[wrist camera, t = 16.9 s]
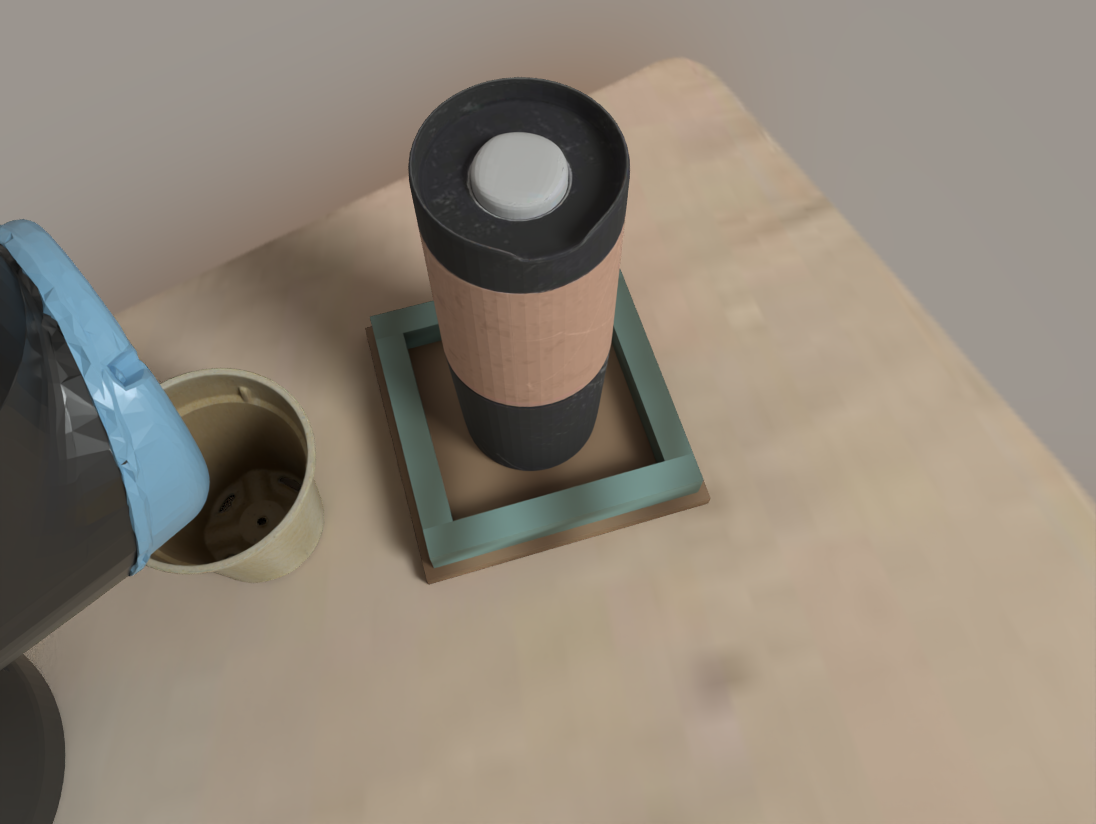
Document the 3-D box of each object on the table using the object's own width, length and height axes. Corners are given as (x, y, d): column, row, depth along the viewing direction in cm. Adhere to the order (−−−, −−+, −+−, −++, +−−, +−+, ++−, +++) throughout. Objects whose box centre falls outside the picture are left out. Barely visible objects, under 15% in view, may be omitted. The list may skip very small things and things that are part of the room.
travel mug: (503, 327, 50) (475, 44, 31) (625, 383, 48) (671, 121, 30) (433, 438, 47) (359, 198, 29) (561, 501, 45) (569, 291, 27)
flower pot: (151, 610, 44) (64, 565, 36) (194, 436, 48) (124, 361, 40) (338, 622, 44) (292, 579, 36) (366, 446, 48) (331, 373, 40)
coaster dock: (428, 584, 44) (422, 571, 42) (367, 335, 50) (358, 311, 48) (708, 503, 46) (716, 486, 44) (616, 271, 52) (620, 246, 50)
